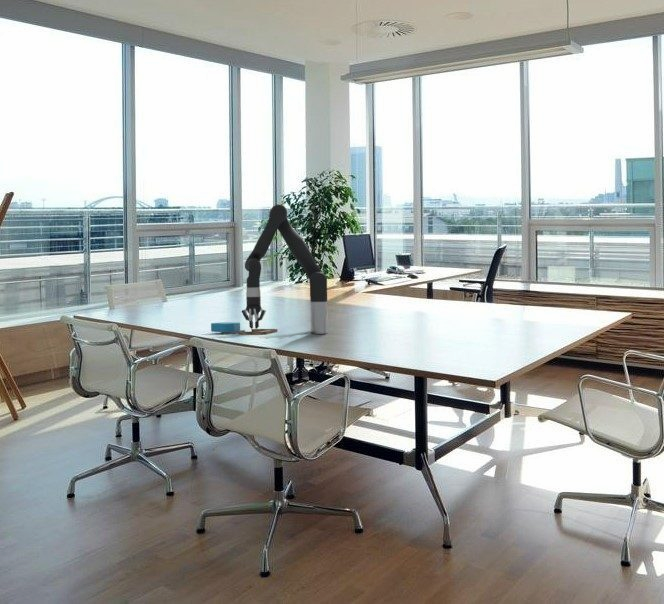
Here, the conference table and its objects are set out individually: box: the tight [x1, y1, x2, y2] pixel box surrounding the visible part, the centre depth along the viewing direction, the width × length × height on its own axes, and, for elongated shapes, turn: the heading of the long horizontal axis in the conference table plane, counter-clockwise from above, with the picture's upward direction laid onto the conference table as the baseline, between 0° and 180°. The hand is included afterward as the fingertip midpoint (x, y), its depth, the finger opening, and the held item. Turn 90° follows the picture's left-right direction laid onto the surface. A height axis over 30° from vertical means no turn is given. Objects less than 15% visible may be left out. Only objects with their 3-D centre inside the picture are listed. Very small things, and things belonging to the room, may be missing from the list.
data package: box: [210, 321, 241, 333], centre depth 395 cm, size 12×4×12 cm
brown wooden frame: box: [238, 328, 278, 336], centre depth 392 cm, size 15×20×2 cm
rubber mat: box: [220, 329, 246, 335], centre depth 396 cm, size 8×14×1 cm, turn 165°
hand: (254, 328), depth 392 cm, fingers closed
